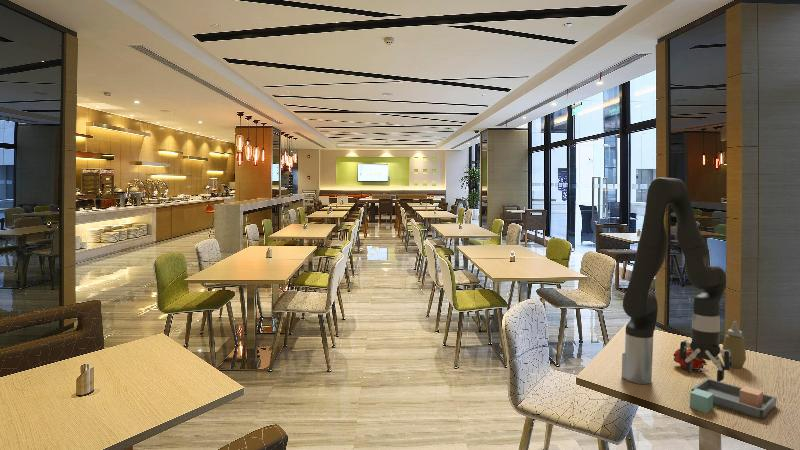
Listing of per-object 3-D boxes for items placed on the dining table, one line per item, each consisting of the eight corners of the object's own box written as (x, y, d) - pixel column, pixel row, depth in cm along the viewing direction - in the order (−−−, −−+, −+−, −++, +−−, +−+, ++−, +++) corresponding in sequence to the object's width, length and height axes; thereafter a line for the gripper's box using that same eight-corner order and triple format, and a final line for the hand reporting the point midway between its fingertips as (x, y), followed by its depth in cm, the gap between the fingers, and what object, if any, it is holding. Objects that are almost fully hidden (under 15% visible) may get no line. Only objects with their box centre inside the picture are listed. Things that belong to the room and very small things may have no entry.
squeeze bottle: (735, 362, 194) (737, 318, 192) (750, 369, 185) (753, 324, 184) (716, 362, 193) (718, 319, 192) (730, 370, 185) (733, 325, 184)
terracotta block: (738, 404, 155) (739, 390, 155) (743, 400, 158) (744, 385, 158) (757, 410, 151) (758, 395, 151) (762, 405, 155) (763, 391, 154)
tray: (691, 397, 162) (691, 388, 162) (706, 386, 171) (707, 378, 171) (762, 419, 147) (763, 410, 146) (775, 406, 155) (776, 397, 155)
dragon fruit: (671, 366, 193) (703, 380, 184) (665, 359, 188) (698, 373, 179) (680, 348, 195) (712, 361, 186) (675, 340, 190) (708, 353, 180)
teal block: (689, 407, 155) (690, 392, 155) (695, 402, 158) (696, 388, 158) (706, 413, 151) (707, 398, 151) (712, 408, 155) (713, 393, 154)
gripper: (676, 325, 156) (675, 373, 157) (727, 335, 145) (725, 387, 146) (686, 321, 161) (684, 368, 162) (735, 330, 149) (734, 380, 151)
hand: (704, 377), depth 154 cm, fingers open, 8 cm apart
